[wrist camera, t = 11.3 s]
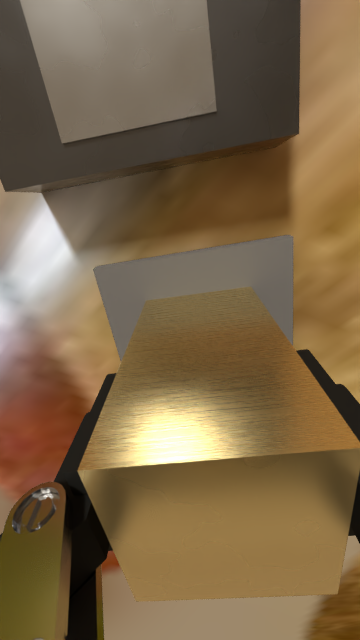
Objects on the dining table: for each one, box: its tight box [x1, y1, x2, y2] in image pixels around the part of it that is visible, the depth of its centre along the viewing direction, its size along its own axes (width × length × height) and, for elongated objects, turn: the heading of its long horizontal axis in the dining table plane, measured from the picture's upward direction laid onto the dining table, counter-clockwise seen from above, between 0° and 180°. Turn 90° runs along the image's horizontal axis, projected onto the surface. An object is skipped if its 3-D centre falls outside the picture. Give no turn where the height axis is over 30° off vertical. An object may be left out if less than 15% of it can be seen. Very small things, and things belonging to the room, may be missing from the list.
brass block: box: [77, 286, 360, 602], centre depth 10 cm, size 5×5×9 cm
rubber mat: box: [93, 235, 293, 361], centre depth 14 cm, size 9×9×1 cm
